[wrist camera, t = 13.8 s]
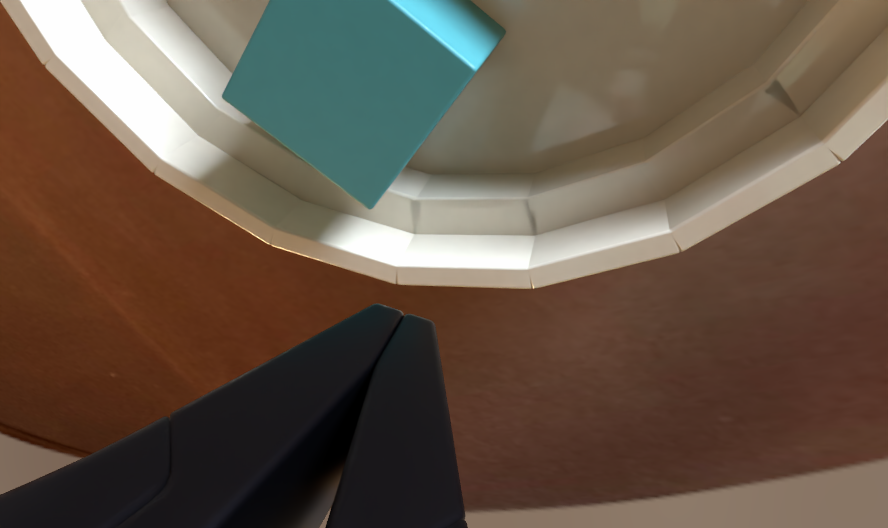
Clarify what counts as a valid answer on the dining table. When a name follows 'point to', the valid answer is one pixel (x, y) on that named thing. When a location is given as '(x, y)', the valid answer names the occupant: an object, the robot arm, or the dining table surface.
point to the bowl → (503, 128)
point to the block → (359, 80)
